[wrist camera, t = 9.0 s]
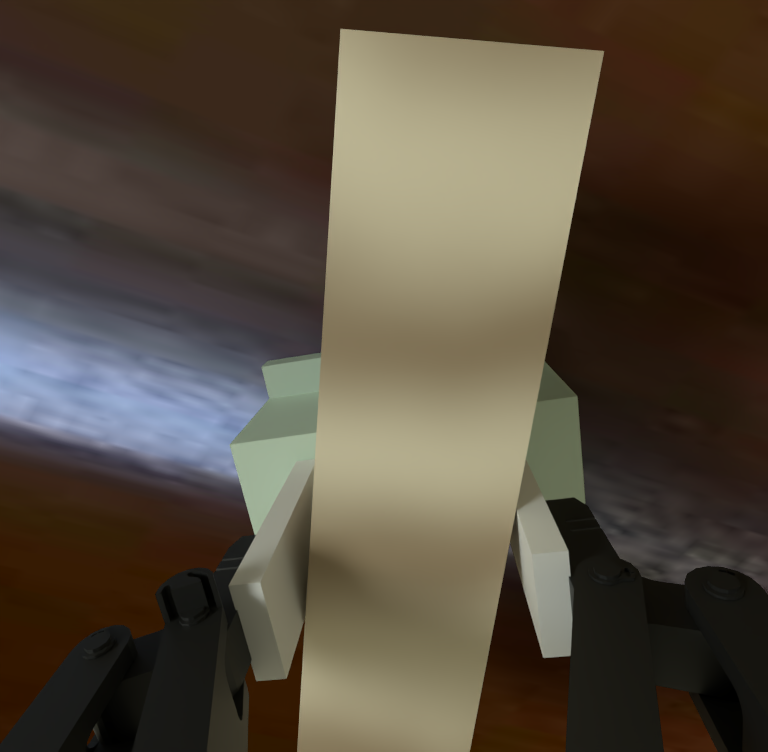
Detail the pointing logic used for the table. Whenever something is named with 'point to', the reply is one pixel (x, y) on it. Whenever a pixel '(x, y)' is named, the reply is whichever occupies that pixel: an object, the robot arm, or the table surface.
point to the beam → (430, 370)
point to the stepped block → (299, 426)
